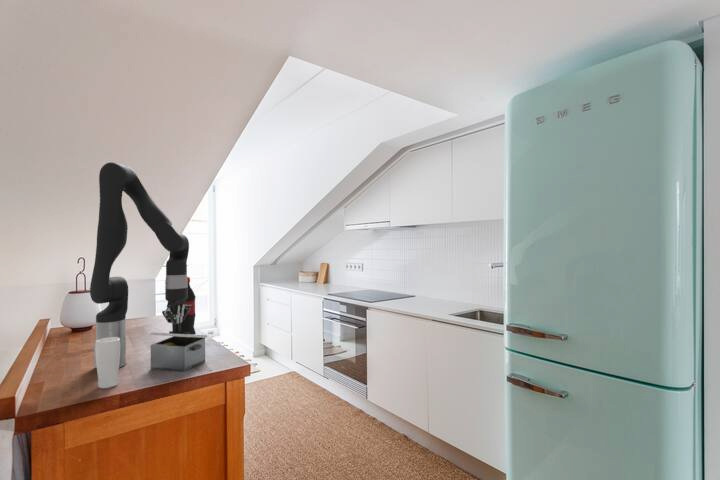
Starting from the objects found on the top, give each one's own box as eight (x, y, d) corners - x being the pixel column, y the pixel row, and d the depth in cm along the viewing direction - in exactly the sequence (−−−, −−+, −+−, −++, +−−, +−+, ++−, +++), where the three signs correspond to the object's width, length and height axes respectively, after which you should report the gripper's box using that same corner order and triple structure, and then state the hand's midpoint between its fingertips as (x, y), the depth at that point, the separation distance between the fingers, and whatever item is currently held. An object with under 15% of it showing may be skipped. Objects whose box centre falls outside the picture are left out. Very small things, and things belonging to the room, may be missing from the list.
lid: (150, 335, 137) (151, 330, 137) (173, 336, 149) (174, 331, 149) (185, 337, 134) (186, 332, 134) (206, 337, 146) (207, 333, 146)
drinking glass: (95, 391, 116) (95, 343, 116) (95, 385, 122) (94, 339, 122) (121, 386, 120) (121, 340, 120) (120, 380, 126) (119, 335, 126)
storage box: (147, 369, 137) (147, 344, 137) (170, 358, 148) (170, 335, 148) (187, 372, 133) (187, 346, 133) (207, 361, 145) (207, 338, 145)
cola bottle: (172, 342, 172) (172, 276, 172) (191, 338, 178) (191, 275, 178) (179, 345, 166) (178, 278, 166) (198, 342, 172) (198, 276, 172)
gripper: (173, 289, 133) (173, 338, 133) (196, 285, 146) (196, 329, 146) (154, 288, 134) (154, 337, 134) (179, 284, 147) (179, 328, 147)
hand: (176, 333), depth 140 cm, fingers closed
